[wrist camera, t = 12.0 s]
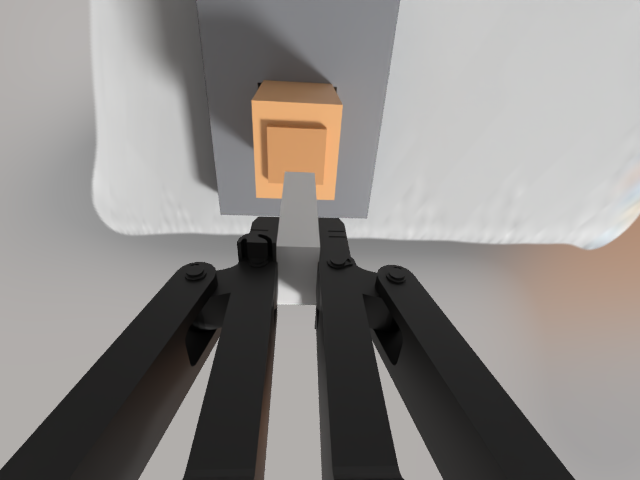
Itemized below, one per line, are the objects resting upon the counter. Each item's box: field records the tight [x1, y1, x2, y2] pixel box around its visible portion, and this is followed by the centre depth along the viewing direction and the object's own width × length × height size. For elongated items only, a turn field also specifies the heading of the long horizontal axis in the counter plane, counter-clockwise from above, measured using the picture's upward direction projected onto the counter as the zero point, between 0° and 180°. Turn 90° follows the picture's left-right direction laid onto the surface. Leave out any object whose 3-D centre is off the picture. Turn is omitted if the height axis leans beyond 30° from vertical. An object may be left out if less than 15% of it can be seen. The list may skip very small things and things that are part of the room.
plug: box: [251, 80, 343, 200], centre depth 29 cm, size 7×6×12 cm
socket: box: [196, 0, 400, 218], centre depth 33 cm, size 20×16×4 cm
